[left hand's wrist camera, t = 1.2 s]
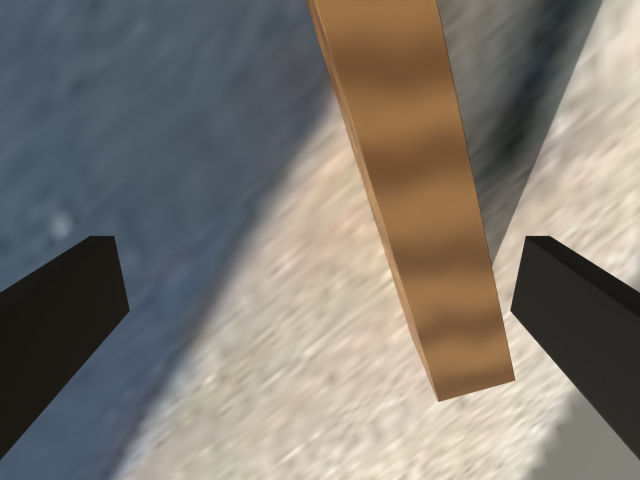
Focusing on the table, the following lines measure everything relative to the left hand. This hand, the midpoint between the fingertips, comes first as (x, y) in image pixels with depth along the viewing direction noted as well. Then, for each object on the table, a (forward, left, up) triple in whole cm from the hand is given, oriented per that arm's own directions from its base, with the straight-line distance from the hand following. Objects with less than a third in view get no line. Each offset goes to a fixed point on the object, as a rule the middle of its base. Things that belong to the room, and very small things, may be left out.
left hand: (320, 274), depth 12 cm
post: (+13, +21, -18) cm, 31 cm away
